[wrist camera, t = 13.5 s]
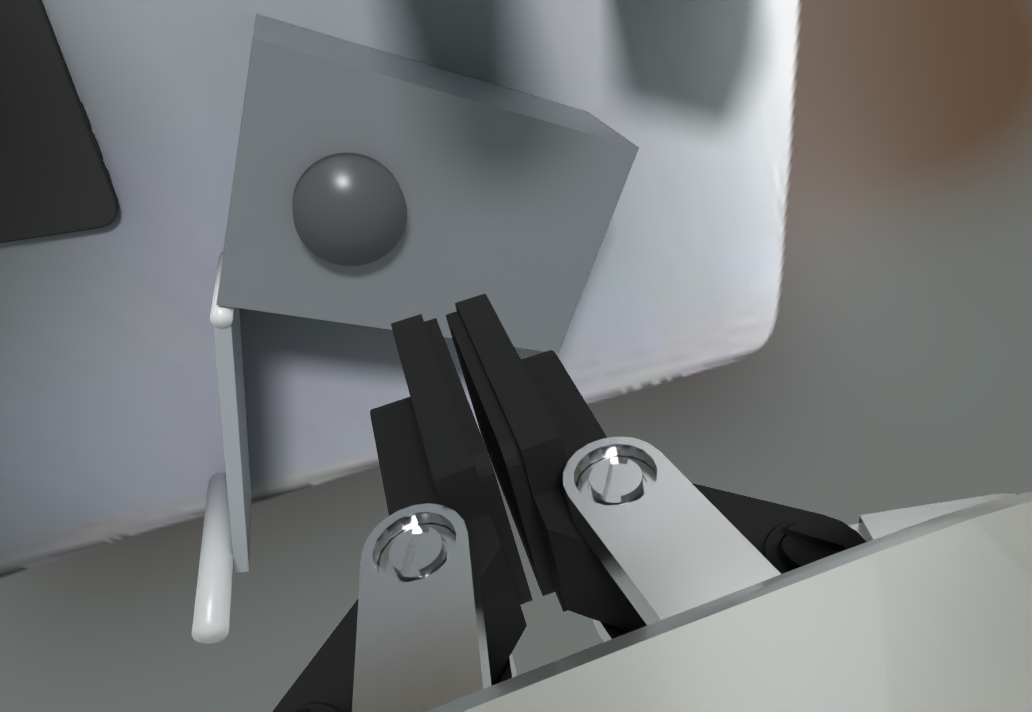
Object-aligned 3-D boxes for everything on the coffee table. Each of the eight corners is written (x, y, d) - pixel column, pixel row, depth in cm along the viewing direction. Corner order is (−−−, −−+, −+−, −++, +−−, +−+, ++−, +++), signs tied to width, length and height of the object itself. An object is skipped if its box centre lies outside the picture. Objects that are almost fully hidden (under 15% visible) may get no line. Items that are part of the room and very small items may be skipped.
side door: (184, 250, 39) (154, 367, 29) (237, 251, 39) (226, 365, 30) (210, 498, 48) (193, 651, 38) (253, 495, 48) (248, 643, 39)
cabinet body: (224, 245, 39) (215, 315, 33) (256, 14, 34) (252, 43, 27) (523, 297, 46) (564, 363, 40) (588, 112, 41) (647, 153, 34)
